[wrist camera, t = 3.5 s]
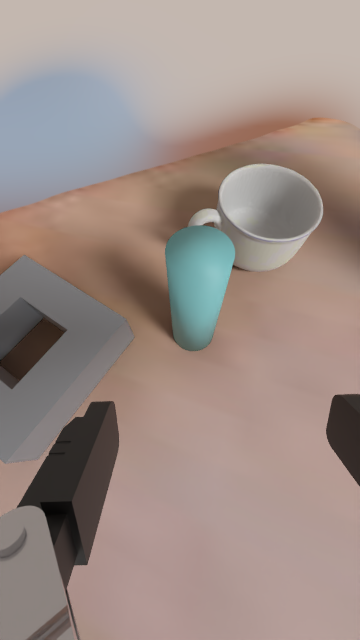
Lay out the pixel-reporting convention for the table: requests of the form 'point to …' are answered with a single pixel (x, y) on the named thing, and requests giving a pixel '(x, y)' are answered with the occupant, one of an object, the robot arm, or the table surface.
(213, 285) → the peg
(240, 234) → the teacup
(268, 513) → the table surface
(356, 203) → the table surface
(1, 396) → the well block
